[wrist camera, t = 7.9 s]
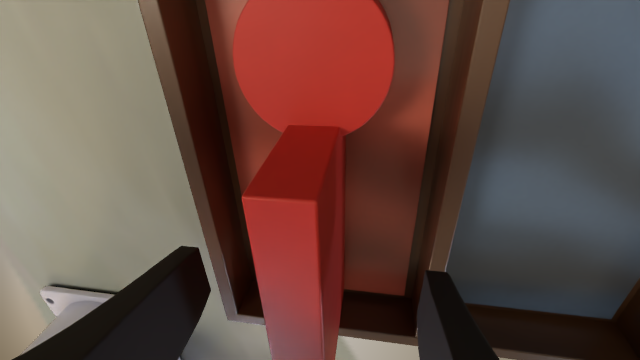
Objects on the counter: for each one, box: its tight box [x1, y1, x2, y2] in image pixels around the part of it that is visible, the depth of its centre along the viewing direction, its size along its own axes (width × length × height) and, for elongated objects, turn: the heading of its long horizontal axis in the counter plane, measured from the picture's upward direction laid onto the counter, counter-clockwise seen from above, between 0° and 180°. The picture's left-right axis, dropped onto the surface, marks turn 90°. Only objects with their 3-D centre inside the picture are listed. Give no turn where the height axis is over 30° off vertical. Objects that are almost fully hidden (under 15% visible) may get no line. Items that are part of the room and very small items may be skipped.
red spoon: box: [233, 0, 395, 360], centre depth 10 cm, size 13×4×6 cm, turn 2°
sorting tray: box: [138, 0, 640, 360], centre depth 11 cm, size 17×18×2 cm
